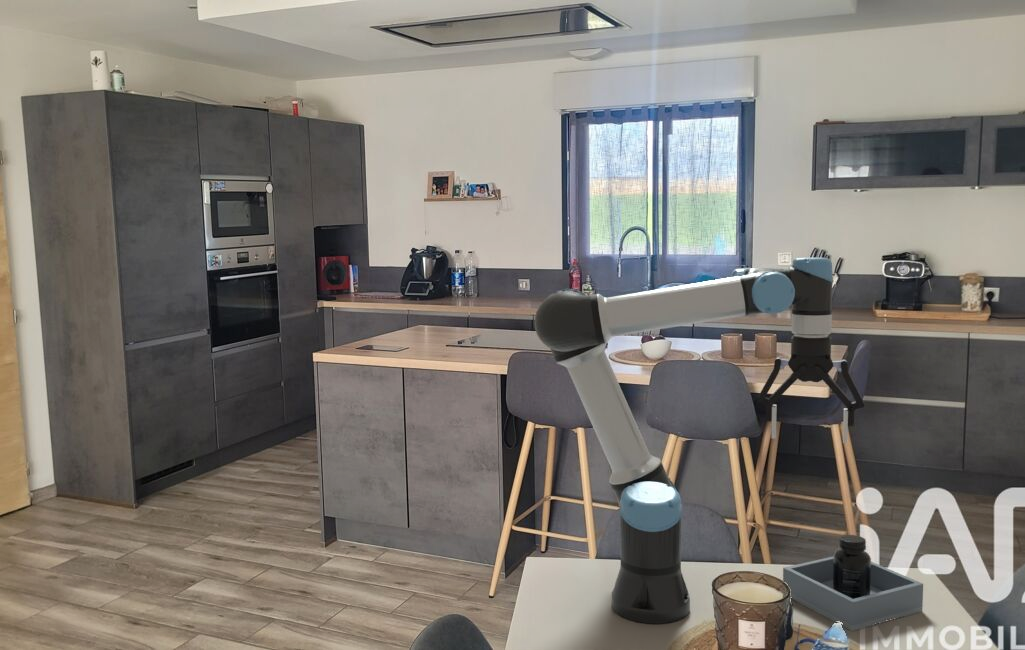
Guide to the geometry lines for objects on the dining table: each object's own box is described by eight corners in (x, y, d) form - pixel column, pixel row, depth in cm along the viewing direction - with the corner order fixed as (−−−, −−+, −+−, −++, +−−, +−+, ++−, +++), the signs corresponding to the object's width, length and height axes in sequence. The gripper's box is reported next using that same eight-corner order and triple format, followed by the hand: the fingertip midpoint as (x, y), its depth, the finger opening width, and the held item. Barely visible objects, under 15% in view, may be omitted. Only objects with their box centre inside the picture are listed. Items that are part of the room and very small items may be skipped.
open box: (782, 594, 172) (783, 567, 171) (849, 577, 179) (849, 552, 179) (852, 631, 156) (853, 602, 155) (922, 611, 163) (923, 583, 163)
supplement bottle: (877, 599, 166) (879, 540, 165) (856, 608, 163) (857, 547, 161) (846, 587, 172) (848, 530, 171) (825, 596, 168) (826, 537, 167)
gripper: (878, 334, 169) (874, 439, 172) (748, 331, 178) (746, 431, 180) (880, 339, 162) (876, 448, 165) (744, 335, 171) (743, 439, 173)
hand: (808, 439), depth 172 cm, fingers open, 13 cm apart
